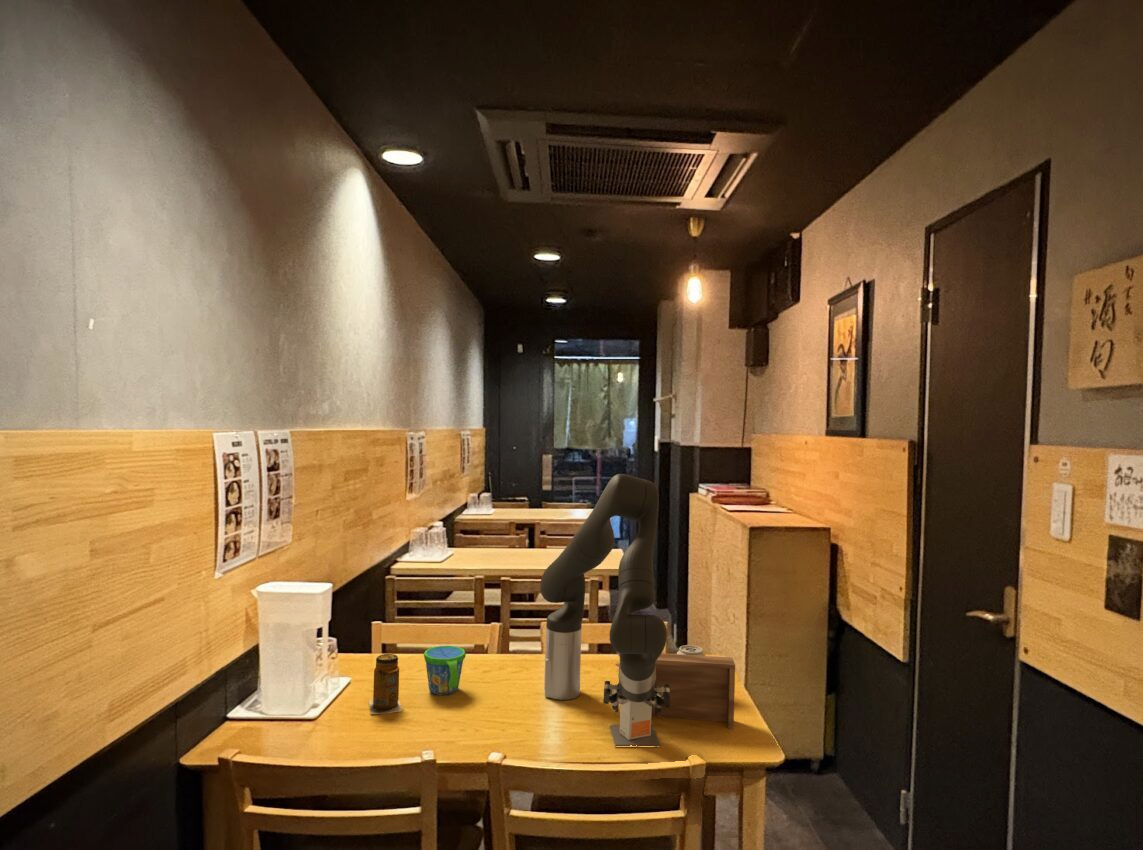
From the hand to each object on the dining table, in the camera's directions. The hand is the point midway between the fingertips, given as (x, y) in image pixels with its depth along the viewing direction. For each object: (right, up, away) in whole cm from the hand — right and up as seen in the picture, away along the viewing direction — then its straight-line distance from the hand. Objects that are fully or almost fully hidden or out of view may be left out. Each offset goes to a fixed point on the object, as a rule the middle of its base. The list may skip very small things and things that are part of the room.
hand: (636, 709), depth 148 cm
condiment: (-60, -7, +17) cm, 63 cm away
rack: (+13, -9, +13) cm, 21 cm away
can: (+17, -9, +31) cm, 36 cm away
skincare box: (0, -8, +4) cm, 9 cm away
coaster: (0, -8, +4) cm, 9 cm away
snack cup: (-48, -7, +28) cm, 56 cm away
